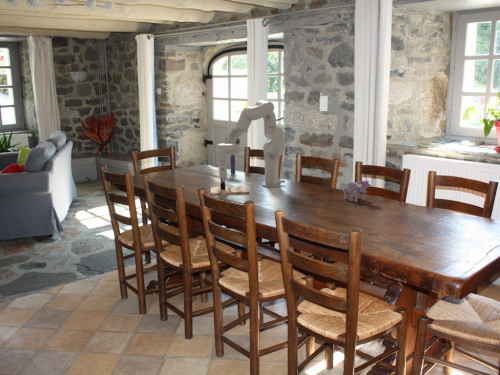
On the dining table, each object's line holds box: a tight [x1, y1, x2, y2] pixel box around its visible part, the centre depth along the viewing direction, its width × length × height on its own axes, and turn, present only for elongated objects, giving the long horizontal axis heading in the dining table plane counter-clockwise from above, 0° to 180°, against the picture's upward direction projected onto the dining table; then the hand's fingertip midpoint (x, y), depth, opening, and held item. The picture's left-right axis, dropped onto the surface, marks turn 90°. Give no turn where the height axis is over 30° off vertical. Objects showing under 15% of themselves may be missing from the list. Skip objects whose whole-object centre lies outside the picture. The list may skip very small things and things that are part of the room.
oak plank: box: [209, 186, 230, 196], centre depth 333 cm, size 13×18×2 cm
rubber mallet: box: [224, 136, 241, 175], centre depth 392 cm, size 12×8×30 cm, turn 35°
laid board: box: [228, 185, 250, 195], centre depth 335 cm, size 12×18×2 cm
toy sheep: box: [342, 179, 372, 203], centre depth 303 cm, size 20×11×14 cm, turn 32°
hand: (223, 189), depth 333 cm, fingers closed
